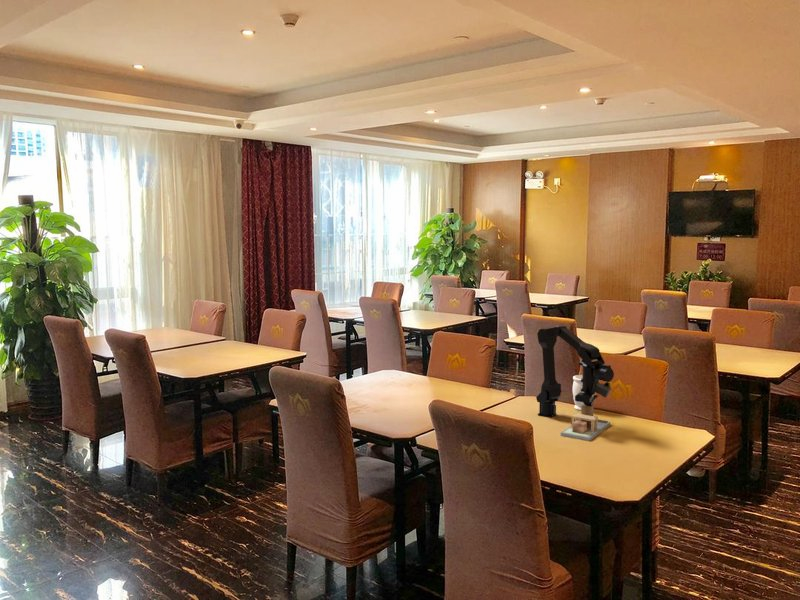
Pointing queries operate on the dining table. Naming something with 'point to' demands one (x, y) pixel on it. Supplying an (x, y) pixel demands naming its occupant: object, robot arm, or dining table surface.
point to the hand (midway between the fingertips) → (589, 412)
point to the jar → (577, 390)
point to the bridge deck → (595, 429)
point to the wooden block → (583, 424)
